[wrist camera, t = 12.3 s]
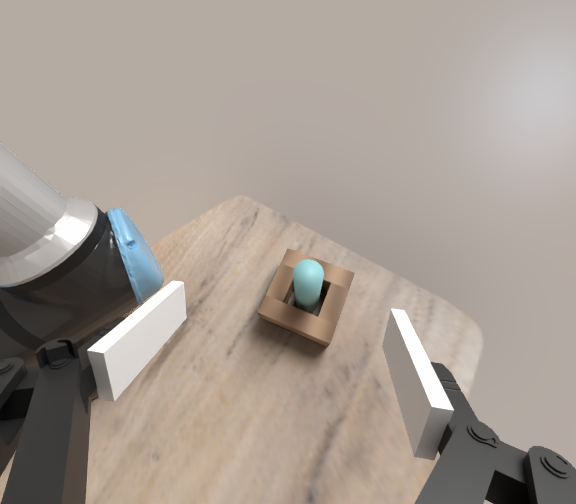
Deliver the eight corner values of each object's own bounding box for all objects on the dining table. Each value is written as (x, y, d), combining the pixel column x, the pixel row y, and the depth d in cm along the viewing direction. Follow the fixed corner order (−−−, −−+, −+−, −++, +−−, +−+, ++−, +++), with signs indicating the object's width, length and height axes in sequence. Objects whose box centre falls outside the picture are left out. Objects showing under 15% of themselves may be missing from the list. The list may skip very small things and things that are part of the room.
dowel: (292, 306, 47) (288, 281, 34) (300, 286, 48) (299, 255, 35) (313, 315, 46) (317, 293, 33) (321, 294, 47) (328, 265, 35)
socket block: (261, 318, 46) (257, 312, 42) (289, 259, 50) (287, 248, 46) (327, 346, 44) (330, 343, 39) (349, 282, 48) (354, 273, 43)
